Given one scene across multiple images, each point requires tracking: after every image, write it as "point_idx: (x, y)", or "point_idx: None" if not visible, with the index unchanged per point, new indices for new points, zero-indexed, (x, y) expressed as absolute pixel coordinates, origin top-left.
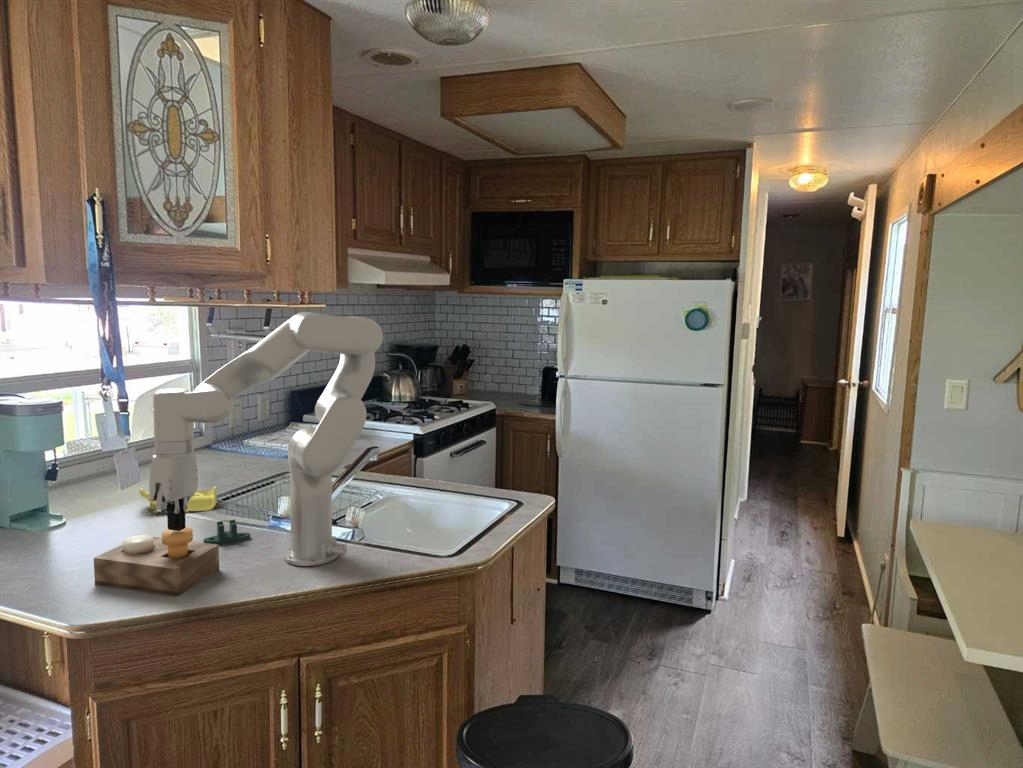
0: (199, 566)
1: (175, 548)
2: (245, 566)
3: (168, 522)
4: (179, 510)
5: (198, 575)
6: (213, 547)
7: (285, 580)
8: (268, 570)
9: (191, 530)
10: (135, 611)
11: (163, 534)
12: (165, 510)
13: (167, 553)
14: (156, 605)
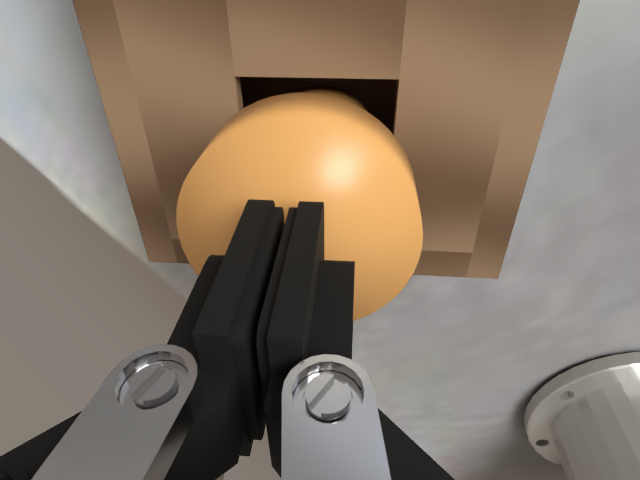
0: None
1: None
2: (518, 271)
3: (199, 276)
4: (219, 478)
5: None
6: (451, 275)
7: (414, 404)
8: (485, 347)
9: (358, 312)
10: (30, 125)
11: (197, 177)
12: (78, 413)
13: (308, 77)
14: (106, 165)
